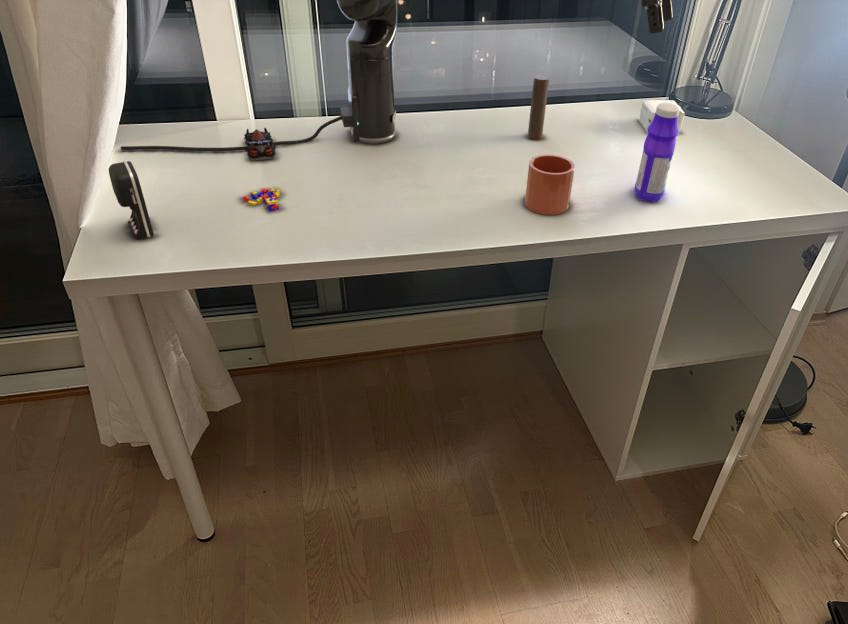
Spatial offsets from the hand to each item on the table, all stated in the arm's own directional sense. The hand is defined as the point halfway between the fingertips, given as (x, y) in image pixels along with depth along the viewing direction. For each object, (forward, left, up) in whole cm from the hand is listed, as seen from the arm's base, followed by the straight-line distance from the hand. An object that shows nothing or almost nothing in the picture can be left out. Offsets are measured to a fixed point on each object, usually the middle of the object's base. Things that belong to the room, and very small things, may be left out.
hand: (661, 26), depth 117 cm
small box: (+22, +30, -31) cm, 48 cm away
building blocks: (-68, +9, -31) cm, 75 cm away
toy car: (-68, +32, -31) cm, 81 cm away
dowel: (-9, +29, -31) cm, 43 cm away
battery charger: (-89, +2, -31) cm, 94 cm away
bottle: (+4, -1, -31) cm, 31 cm away
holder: (-17, -1, -31) cm, 35 cm away
